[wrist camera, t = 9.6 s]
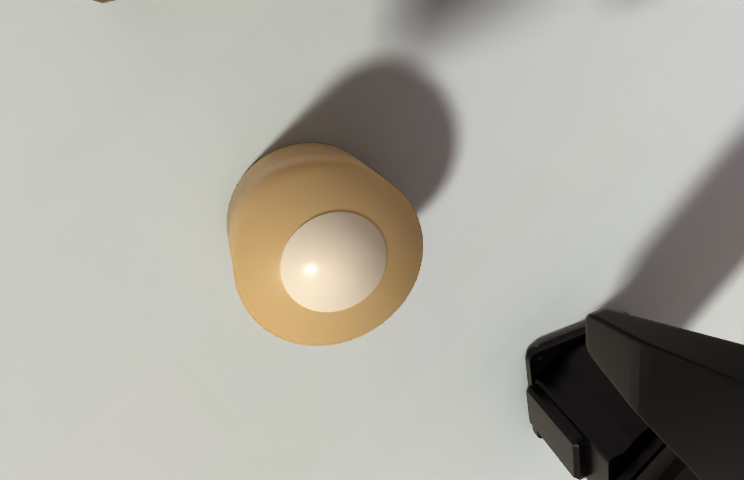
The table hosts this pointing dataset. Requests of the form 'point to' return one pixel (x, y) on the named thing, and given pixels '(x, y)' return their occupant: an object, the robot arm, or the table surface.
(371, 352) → the table surface
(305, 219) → the dome push button
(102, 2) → the walnut box
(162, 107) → the table surface
